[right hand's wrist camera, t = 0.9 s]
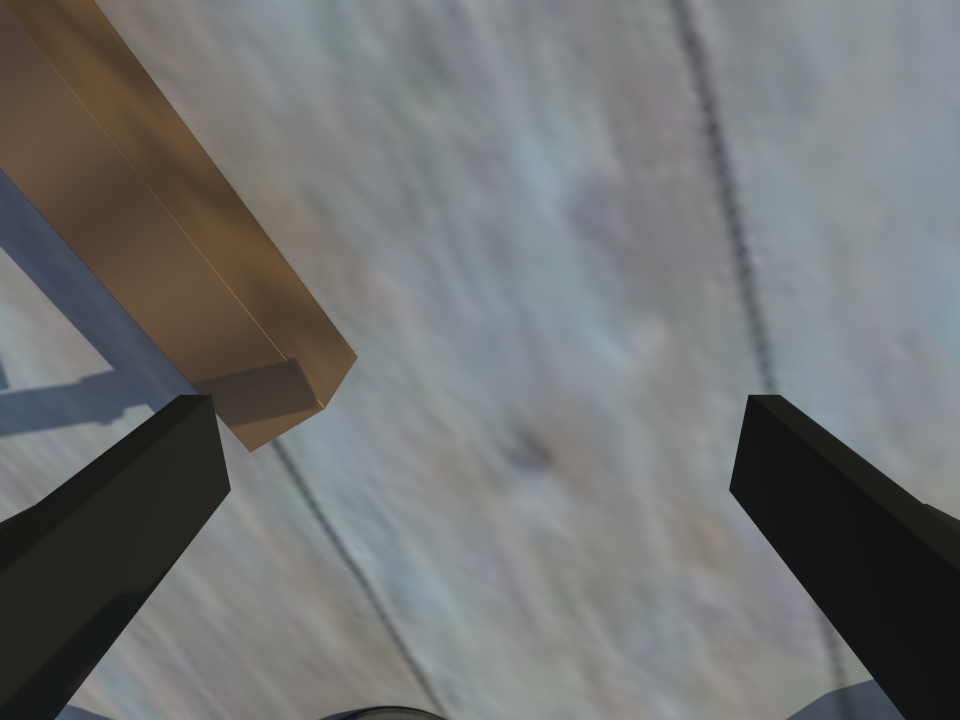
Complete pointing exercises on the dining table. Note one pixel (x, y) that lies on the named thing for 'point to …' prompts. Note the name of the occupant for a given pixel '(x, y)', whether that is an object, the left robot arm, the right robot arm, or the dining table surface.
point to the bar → (159, 220)
